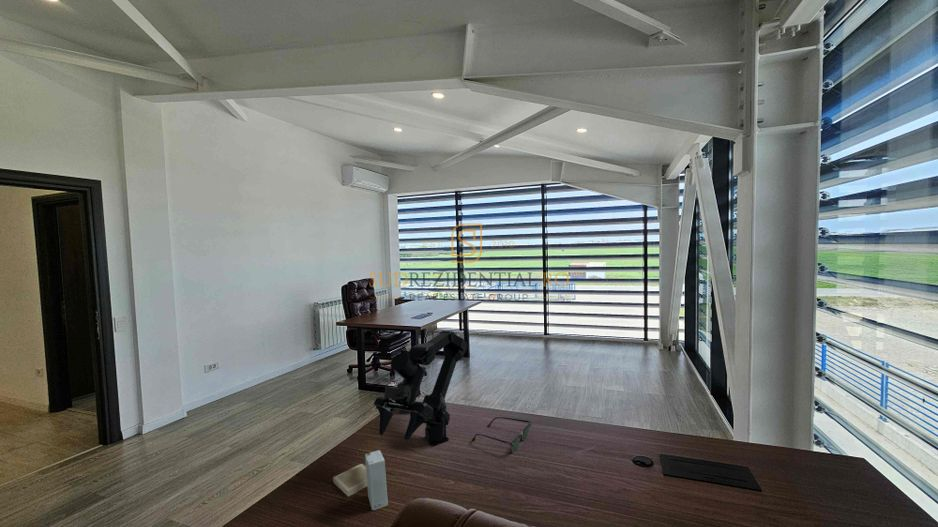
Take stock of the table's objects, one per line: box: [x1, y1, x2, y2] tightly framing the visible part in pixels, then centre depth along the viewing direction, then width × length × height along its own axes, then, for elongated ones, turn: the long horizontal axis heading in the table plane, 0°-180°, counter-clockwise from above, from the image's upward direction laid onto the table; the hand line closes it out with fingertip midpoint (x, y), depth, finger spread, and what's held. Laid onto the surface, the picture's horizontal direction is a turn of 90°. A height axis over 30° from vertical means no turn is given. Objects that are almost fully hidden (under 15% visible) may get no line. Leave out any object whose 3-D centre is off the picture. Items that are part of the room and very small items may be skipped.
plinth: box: [332, 463, 368, 497], centre depth 103 cm, size 9×9×2 cm
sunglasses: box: [472, 416, 532, 454], centre depth 124 cm, size 16×17×5 cm
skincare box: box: [364, 449, 389, 511], centre depth 95 cm, size 6×4×12 cm
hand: (392, 437), depth 102 cm, fingers open, 9 cm apart
